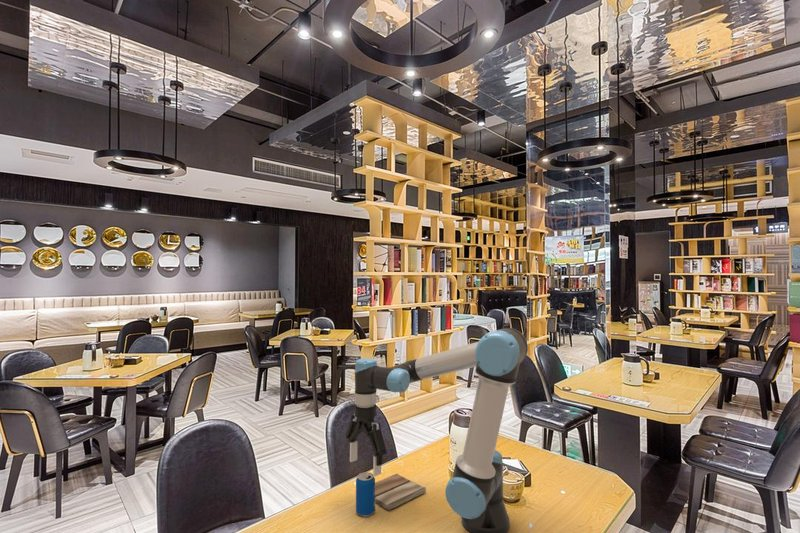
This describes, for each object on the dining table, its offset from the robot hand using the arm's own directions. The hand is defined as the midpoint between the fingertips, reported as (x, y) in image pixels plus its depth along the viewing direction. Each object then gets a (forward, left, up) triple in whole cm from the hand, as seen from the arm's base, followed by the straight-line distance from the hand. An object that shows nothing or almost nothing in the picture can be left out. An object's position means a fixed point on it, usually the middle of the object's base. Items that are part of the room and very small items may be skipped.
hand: (364, 467), depth 133 cm
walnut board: (+7, -15, -15) cm, 22 cm away
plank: (-1, -15, -14) cm, 21 cm away
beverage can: (0, 0, -15) cm, 15 cm away
